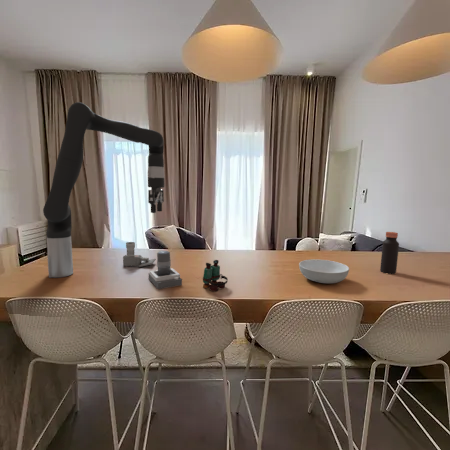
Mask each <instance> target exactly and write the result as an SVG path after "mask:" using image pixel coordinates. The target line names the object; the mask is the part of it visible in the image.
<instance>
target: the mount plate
mask: <svg viewBox="0 0 450 450" xmlns="http://www.w3.org/2000/svg"><path fill="white" fill-rule="evenodd" d="M170 274H171V275H166V276H159V277H158V269H156V270H149V272H148V280H149V281H150V282H151V283H152V284H153V286H155V288H156V289H157V290H161V289H166V288H172V287H179V286H182V285H183V279H182V278H181V273H179V272H178V271H177V270H176V269H174V268H172V267H170Z"/></svg>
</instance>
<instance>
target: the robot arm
mask: <svg viewBox="0 0 450 450" xmlns="http://www.w3.org/2000/svg"><path fill="white" fill-rule="evenodd" d="M87 130H89V131H93V132H94V131H95V132H101V133H104V134H105V133H106V134H108V135H112V136H116V137H118V138H121V139H124V140H127V141H131V142H134V143H137V144H138V143H141V144H144V145H146V146H148V157H147V187H148V188H151V189H148V191H147V193H148V198H147V199H148V200H147V202H148V204H149V205H150V213H151V214H156V213H157V212H162V211H163V203H164V202H165V199H164V198H165V197H164V189H161V188H165V165H164V164H165V162H164V161H165V160H164V148H165V146H164V145H165V142H164V137H163V135H162V133H160V132H159V131H156V130H153V129H149V128H145V127H140V126H138V125H135V124H132V123H129V122H125V121H122V120H121V121H120V120H114V119H109V118H106V117H103V116H101V115H100V114H97V113H95V112H94V111H93V110H92V109H91V108H90V107H89V106H88V105H87V104H85V103H83V102H82V101H81V102H80V101H76V102H73V103H72V104H71V105H70V106H69V108H68V111H67V115H66V123H65V130H64V134H63V139H62V142H61V145H60V149H59V151H58V155H57V159H56V163H55V168H54V172H53V175H52V176H53V177H52V183H51V188H50V190H49V193H48V196H47V199H46V201H45V203H44V206H43V209H42V214H43V216H44V218H45V219H46V220H47V229H46V232H45V233H46V245H47V268H48V269H47V270H48V272H47V273H48V278H65V277H68V276H71V275H73V274H74V263H73V245H72V244H73V243H72V242H73V241H72V228H73V227H72V224H73V223H72V210H71V207H70V205H69V202H70V197H71V193H72V191H73V188H74V186H75V184H76V182H77V181H78V178H79V176H80V172H81V170H82V166H83V161H84V137H85V133H86V132H87Z"/></svg>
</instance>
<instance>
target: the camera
mask: <svg viewBox="0 0 450 450" xmlns="http://www.w3.org/2000/svg"><path fill="white" fill-rule="evenodd" d="M125 248H126V254H125V255H123V257H122V266H123V267H137V268H142V267H145V266H149V265H150V266H151V265H152V264H154V262H155V261H157V260H156V259H157V258H152V259H150V258H149V257H143V256H142V255H141V254H135V248H136V242H134V241H130V242H129V241H127V242H126V243H125Z"/></svg>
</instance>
